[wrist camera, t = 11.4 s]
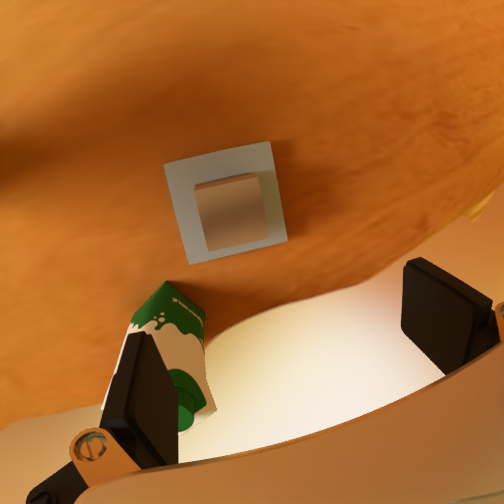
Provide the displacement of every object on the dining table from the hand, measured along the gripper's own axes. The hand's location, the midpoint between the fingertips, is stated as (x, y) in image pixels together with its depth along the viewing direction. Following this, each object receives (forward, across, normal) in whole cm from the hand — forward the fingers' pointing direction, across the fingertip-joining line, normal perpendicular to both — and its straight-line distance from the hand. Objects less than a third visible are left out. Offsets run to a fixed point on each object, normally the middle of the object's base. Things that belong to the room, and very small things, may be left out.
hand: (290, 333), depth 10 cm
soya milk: (+28, +11, +13) cm, 33 cm away
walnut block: (+26, 0, 0) cm, 26 cm away
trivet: (+28, 0, 0) cm, 28 cm away
